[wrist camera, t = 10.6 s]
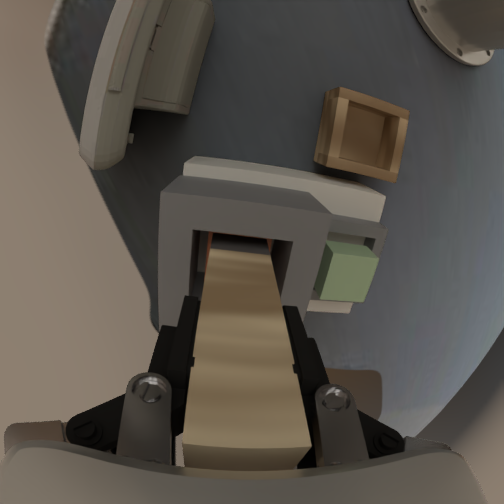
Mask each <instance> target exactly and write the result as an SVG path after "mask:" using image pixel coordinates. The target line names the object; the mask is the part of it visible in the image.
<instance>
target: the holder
mask: <svg viewBox="0 0 504 504" xmlns="http://www.w3.org/2000/svg"><path fill="white" fill-rule="evenodd" d="M409 112H410V111H408V110H406V109H403V108H401V107H398V106H396V105H393V104H391V103H388V102H385V101H383V100H380V99H377V98H374V97H371V96H368V95H365V94H362V93H359V92H356V91H353V90H350V89H346V88H343V87H338V88H335V89H332V90H329V91H327V92H325V98H324V104H323V110H322V116H321V122H320V128H319V133H318V139H317V144H316V150H315V155H314V160H313V161H315V162H317V163H320V164H322V165H324V166H326V167H331V168H336V169H340V170H345V171H349V172H353V173H358V174H362V175H366V176H370V177H374V178H378V179H381V180H385V181H389V182H393V183H396V180H397V176H398V171H399V167H400V162H401V157H402V152H403V147H404V142H405V137H406V131H407V125H408V119H409Z"/></svg>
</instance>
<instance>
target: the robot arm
mask: <svg viewBox="0 0 504 504" xmlns="http://www.w3.org/2000/svg"><path fill="white" fill-rule="evenodd" d="M409 2H410V5H411V7H412V10H413V12H414V13H415V15H416V17H417V19H418V21H419V22H420V24H421V25H422V27H423V29H424V30H425V31H426V32H427V34H428V35H429V36H430V38H431V39H432V40H433V41H434V42H435V43H436V44H437V45H438V46H439V48H441V49H442V50H443V51H444V52H445V53H446V54H447V55H449V56H450V57H452V58H453V59H455V60H456V61H458V62H460V63H462V64H465V65H469V66H479V65H484V64H486V63H487V62H489V61H490V59H491V58H492V56H493V53H494V50H496V49H504V0H409ZM200 305H201V301H199V300H198V297H195V296H187V295H185V297H184V300H183V304H182V308H181V312H180V316H179V320H178V324H177V327H175V326H168V325H162V326H161V329H160V332H159V336H158V339H157V342H156V346H155V349H154V352H153V356H152V359H151V363H150V366H149V370H148V373H141V374H138V375H136V376H134V377H133V378H132V379H131V380H130V381H129V383H128V385H127V389H126V393H125V394H123V395H121V396H119V397H116V398H114V399H112V400H110V401H108V402H105V403H103V404H101V405H98V406H96V407H94V408H92V409H89V410H87V411H85V412H82V413H80V414H77V415H76V416H74V417H72V418H71V419H70V420H69V421H68V422H64V423H62V422H61V421H60V420H57V421H44V422H30V423H29V422H26V423H14V424H11V425H10V426H8V427H7V429H6V431H5V434H4V447H5V456H4V458H3V459H2V461H1V463H0V504H488V503H487V500H486V497H485V495H484V493H483V490H482V488H481V486H480V484H479V481H478V479H477V478H476V476H475V474H474V472H473V470H472V468H471V467H470V465H469V464H468V462H467V461H466V460H465V458H464V457H463V456H462V455H461V454H459V453H457V452H454V451H452V450H451V448H450V447H449V446H448V445H447V444H445V443H442V442H435V441H429V440H424V439H419V438H414V437H409V436H406V437H405V438H402V436H401V435H400V434H399V433H398V432H397V431H396V430H394V429H392V428H390V427H388V426H387V425H385V424H383V423H381V422H379V421H377V420H375V419H373V418H372V417H370V416H368V415H366V414H364V413H363V412H361V411H359V410H357V408H356V404H355V400H354V397H353V395H352V394H351V393H350V391H349V390H347V389H346V388H345V387H342V386H340V385H337V384H330V383H329V380H328V377H327V374H326V371H325V368H324V365H323V362H322V359H321V356H320V353H319V350H318V347H317V344H316V341H315V339H314V338H307V334H306V331H305V328H304V325H303V322H302V319H301V316H300V313H299V310H298V307H297V306H288V305H283V307H282V309H283V313H284V318H285V322H286V327H287V331H288V336H289V340H290V345H291V349H292V354H293V358H294V363H295V364H292V367H293V372H294V374H297V377H298V382H299V387H300V391H301V396H302V401H303V406H304V410H305V415H306V420H307V425H308V430H309V435H310V440H311V445H312V447H311V448H310V449H309V450H308V452H307V453H306V454H305V456H304V457H303V458H302V459H301V460H300V462H299V463H298V464H297V465H296V466H295V468H294V469H293V470H280V471H227V470H211V469H198V468H189V467H180V466H176V436H178V435H179V434H181V433H183V431H184V422H185V413H186V404H187V396H188V388H189V380H190V373H191V367H194V362H195V357H193V351H194V344H195V337H196V331H197V324H198V318H199V311H200Z"/></svg>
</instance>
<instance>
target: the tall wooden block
mask: <svg viewBox="0 0 504 504" xmlns="http://www.w3.org/2000/svg"><path fill="white" fill-rule="evenodd" d="M193 357H195V362H194V367H191V373H190V380H189V388H188V396H187V404H186V413H185V422H184V431H183V441H182V446H183V455H184V465H185V467H189V468H198V469H211V470H227V471H280V470H293V469H294V468H295V466H296V465H297V464H298V463H299V462H300V460H301V459H302V458H303V457H304V456H305V454H306V453H307V452H308V450H309V449H310V448H311V447H312V445H311V440H310V435H309V430H308V425H307V420H306V415H305V410H304V406H303V401H302V396H301V391H300V387H299V382H298V377H297V374H294V372H293V367H292V364H295V363H294V358H293V354H292V349H291V345H290V340H289V336H288V331H287V327H286V322H285V318H284V313H283V309H282V304H281V300H280V295H279V291H278V287H277V282H276V278H275V274H274V269H273V265H272V261H271V256H270V252H269V248H268V244H267V239H261V238H253V237H245V236H236V235H228V234H219V233H213V236H212V242H211V247H210V252H209V258H208V264H207V269H206V275H205V281H204V287H203V293H202V299H201V305H200V311H199V318H198V324H197V331H196V337H195V344H194V351H193Z"/></svg>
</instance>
